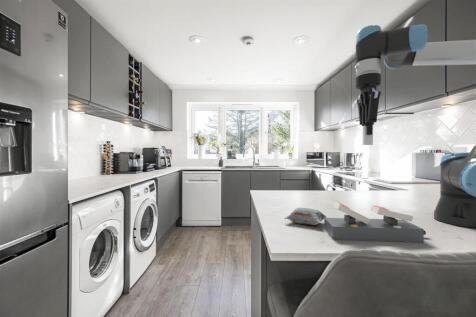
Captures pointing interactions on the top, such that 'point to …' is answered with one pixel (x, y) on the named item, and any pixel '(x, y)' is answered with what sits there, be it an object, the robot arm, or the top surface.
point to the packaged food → (306, 216)
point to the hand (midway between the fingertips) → (367, 144)
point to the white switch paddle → (351, 212)
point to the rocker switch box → (373, 229)
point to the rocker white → (391, 213)
